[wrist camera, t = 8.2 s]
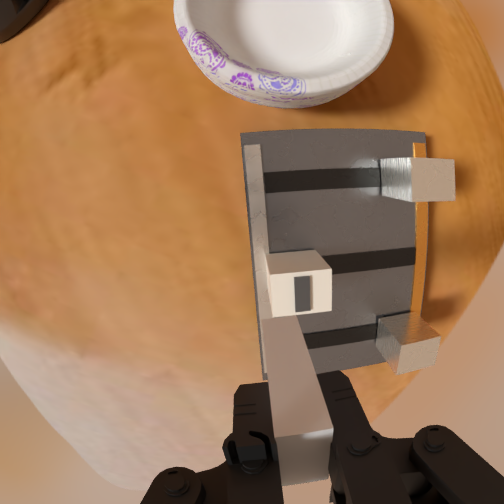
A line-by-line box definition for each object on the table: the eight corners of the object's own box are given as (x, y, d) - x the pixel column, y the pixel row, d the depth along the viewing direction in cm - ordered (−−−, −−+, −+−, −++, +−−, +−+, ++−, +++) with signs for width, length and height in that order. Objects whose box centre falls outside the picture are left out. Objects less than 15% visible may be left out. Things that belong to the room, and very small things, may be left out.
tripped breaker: (267, 289, 25) (273, 318, 20) (265, 254, 24) (270, 275, 19) (316, 285, 25) (332, 312, 20) (315, 249, 24) (332, 269, 19)
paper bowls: (177, 107, 23) (149, 82, 15) (207, -27, 19) (197, -75, 12) (353, 132, 24) (395, 119, 16) (362, -2, 20) (392, -42, 12)
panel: (262, 368, 29) (265, 418, 22) (240, 136, 24) (238, 121, 17) (406, 345, 29) (437, 383, 22) (414, 134, 24) (460, 126, 17)
